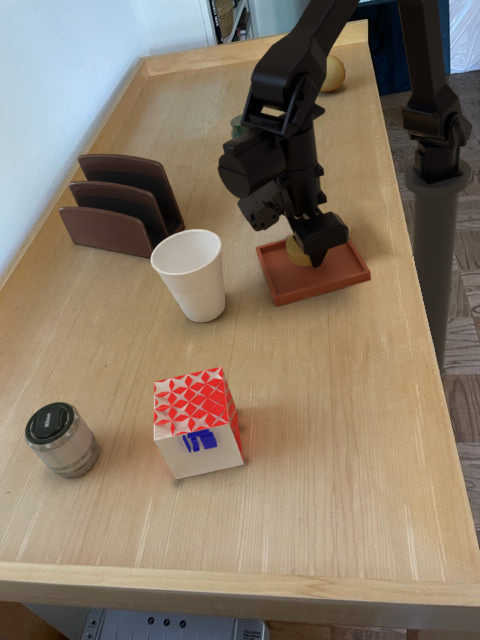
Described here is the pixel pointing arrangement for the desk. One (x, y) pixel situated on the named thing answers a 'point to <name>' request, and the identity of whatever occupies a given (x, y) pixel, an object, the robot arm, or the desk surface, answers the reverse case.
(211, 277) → the cup
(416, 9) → the robot arm
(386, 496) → the desk surface
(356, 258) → the tray
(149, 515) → the desk surface
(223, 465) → the red white patterned cube
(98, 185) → the letter holder
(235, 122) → the jar
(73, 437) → the camera lens
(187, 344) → the desk surface
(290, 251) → the lid
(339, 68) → the fruit
